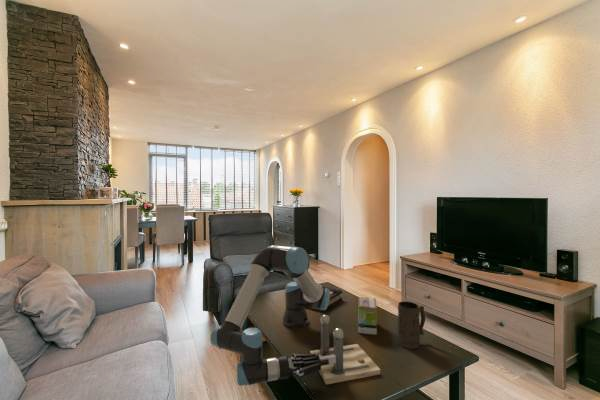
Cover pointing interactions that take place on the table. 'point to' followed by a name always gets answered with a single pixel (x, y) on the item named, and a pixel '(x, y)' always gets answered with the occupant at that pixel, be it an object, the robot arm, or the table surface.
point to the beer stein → (410, 324)
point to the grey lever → (324, 335)
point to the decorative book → (333, 297)
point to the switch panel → (349, 365)
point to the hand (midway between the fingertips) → (335, 358)
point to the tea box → (367, 316)
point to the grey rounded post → (338, 351)
